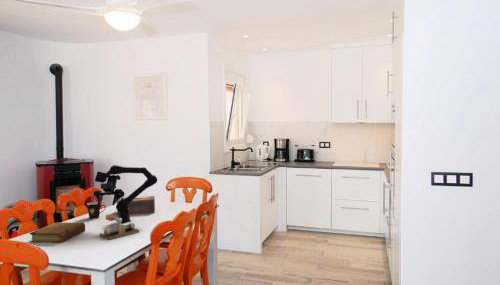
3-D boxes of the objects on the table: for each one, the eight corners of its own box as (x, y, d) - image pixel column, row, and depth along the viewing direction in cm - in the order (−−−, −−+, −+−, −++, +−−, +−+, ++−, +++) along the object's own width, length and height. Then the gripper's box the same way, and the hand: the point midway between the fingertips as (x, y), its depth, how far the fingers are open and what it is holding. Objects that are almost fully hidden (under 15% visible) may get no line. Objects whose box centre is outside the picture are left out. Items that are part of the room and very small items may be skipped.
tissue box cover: (154, 208, 286) (154, 195, 285) (154, 212, 272) (154, 199, 271) (119, 211, 280) (119, 197, 279) (117, 215, 265) (116, 201, 265)
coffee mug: (84, 218, 257) (84, 204, 256) (94, 215, 265) (93, 201, 264) (97, 219, 252) (97, 205, 252) (106, 216, 260) (106, 202, 260)
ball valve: (129, 229, 227) (129, 218, 227) (139, 232, 220) (138, 220, 220) (100, 236, 212) (99, 224, 212) (109, 239, 206) (108, 227, 206)
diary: (62, 244, 202) (61, 233, 201) (30, 243, 204) (29, 233, 203) (85, 231, 225) (85, 222, 224) (56, 231, 227) (55, 222, 226)
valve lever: (109, 218, 226) (109, 214, 226) (122, 222, 216) (122, 217, 216) (105, 219, 224) (105, 215, 224) (118, 223, 214) (118, 218, 214)
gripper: (91, 178, 236) (85, 200, 227) (119, 176, 234) (114, 199, 225) (99, 186, 245) (94, 208, 236) (126, 185, 243) (122, 207, 234)
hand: (105, 205), depth 233 cm, fingers open, 9 cm apart
